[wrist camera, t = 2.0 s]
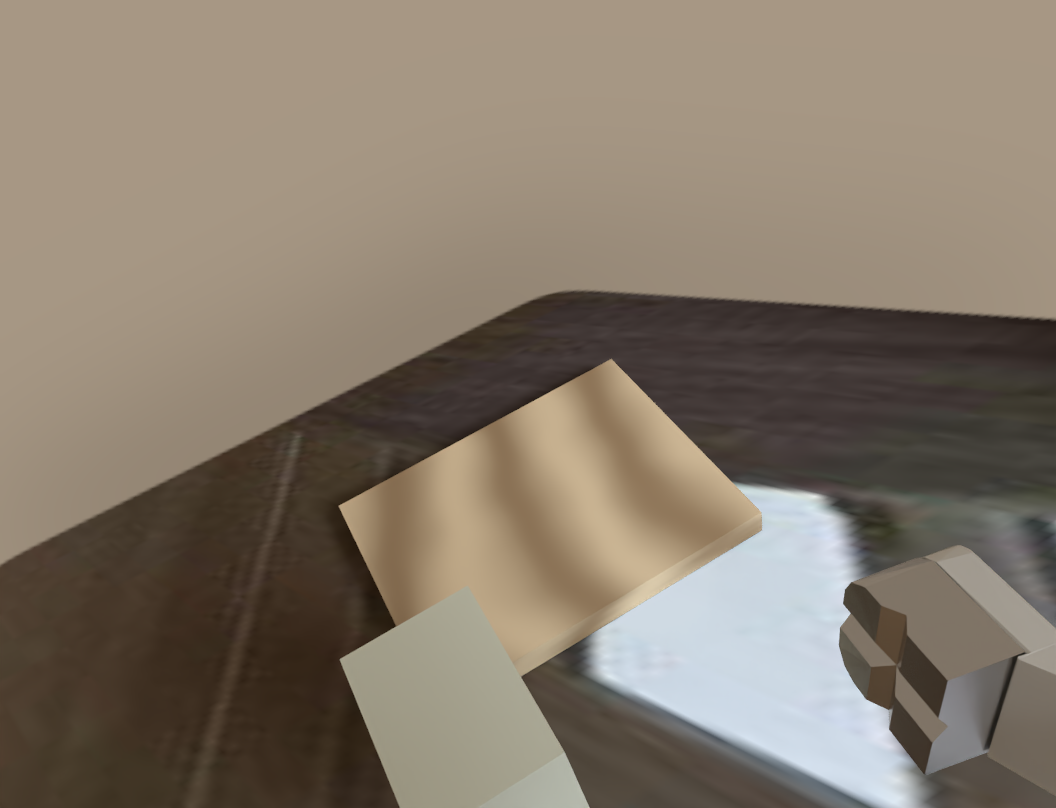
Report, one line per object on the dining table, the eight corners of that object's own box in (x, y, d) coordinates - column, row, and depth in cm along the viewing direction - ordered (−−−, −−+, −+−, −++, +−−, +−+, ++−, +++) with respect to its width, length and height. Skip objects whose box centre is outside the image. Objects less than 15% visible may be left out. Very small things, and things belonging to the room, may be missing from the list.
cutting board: (614, 376, 53) (611, 359, 52) (761, 530, 44) (761, 512, 43) (348, 521, 50) (338, 505, 49) (444, 722, 40) (435, 708, 39)
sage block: (532, 721, 40) (464, 579, 31) (618, 872, 35) (564, 752, 26) (435, 782, 39) (336, 652, 30) (508, 946, 34) (415, 846, 25)
